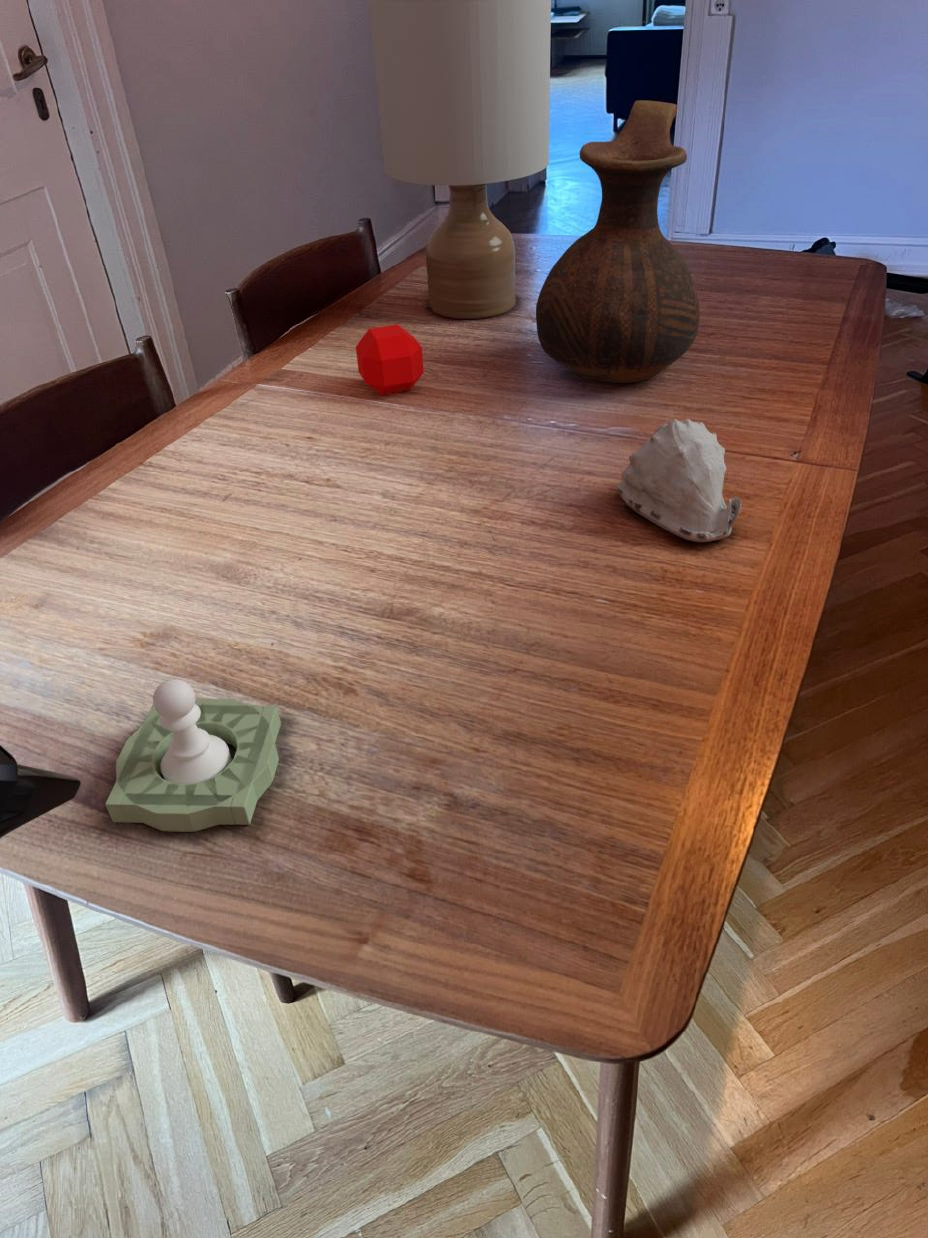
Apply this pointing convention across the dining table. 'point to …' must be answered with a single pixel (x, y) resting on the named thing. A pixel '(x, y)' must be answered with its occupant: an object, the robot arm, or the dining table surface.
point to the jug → (623, 265)
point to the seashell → (681, 482)
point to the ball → (389, 359)
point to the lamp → (464, 128)
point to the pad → (209, 800)
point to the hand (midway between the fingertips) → (33, 751)
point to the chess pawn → (187, 737)
